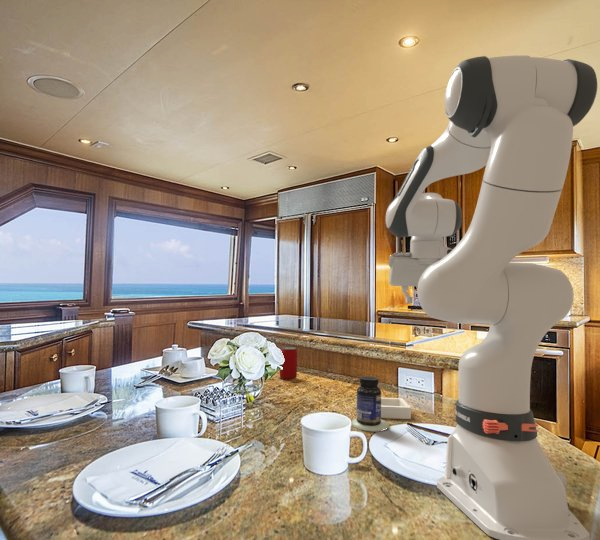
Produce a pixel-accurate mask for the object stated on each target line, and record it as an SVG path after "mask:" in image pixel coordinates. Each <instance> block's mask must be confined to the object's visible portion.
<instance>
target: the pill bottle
mask: <svg viewBox="0 0 600 540" xmlns="http://www.w3.org/2000/svg"><path fill="white" fill-rule="evenodd" d="M359 383H360V386H358V387H357V389H356V418H357V422H358V423H360V424H363V425H368V426H376V425H379V424H380V423H381V419H382V418H381V397H382V390H381V389H380V387H378V386H379V378H378V377H375V376H360V377H359Z"/></svg>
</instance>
